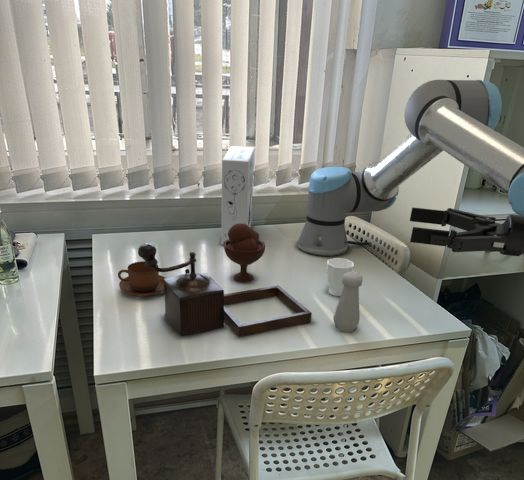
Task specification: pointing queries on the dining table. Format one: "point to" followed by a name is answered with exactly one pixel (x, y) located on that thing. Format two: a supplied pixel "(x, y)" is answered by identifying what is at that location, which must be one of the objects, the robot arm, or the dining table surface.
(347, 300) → the salt shaker
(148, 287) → the cup and saucer
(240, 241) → the ice cream bowl
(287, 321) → the tray
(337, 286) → the cup
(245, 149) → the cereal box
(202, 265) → the dining table surface
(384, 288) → the dining table surface
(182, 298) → the manual coffee grinder
